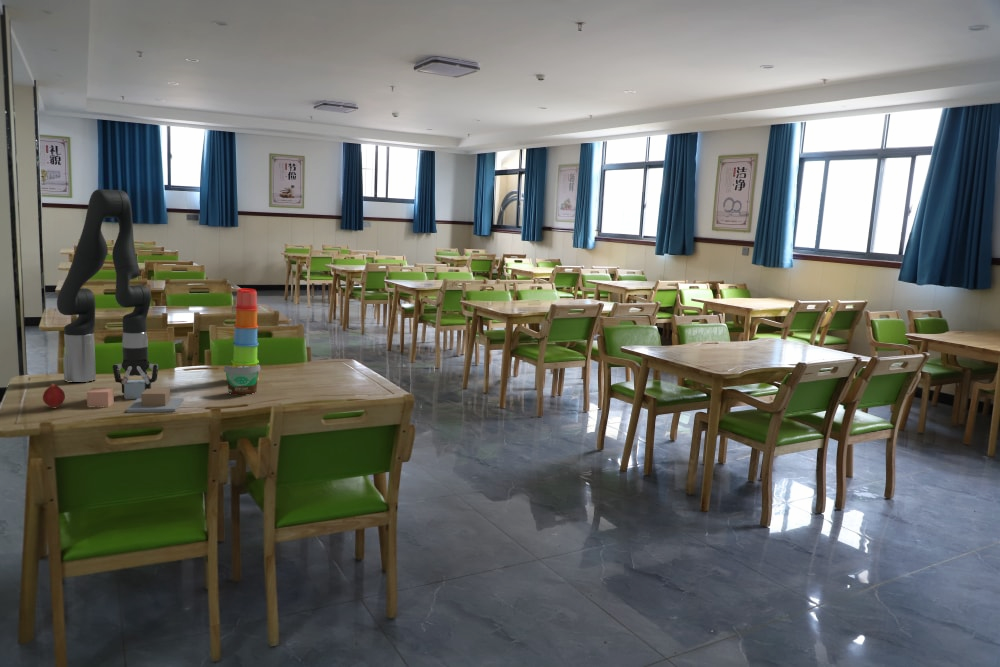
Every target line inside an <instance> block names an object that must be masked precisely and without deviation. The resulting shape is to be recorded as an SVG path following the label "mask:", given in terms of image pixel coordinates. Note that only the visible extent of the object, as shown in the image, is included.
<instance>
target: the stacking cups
mask: <svg viewBox="0 0 1000 667" xmlns="http://www.w3.org/2000/svg"><path fill="white" fill-rule="evenodd" d="M257 299H258V293H257V290H256V289H255V288H246V287H243V288H238V289H237V291H236V306H235V307H234V309H235V324H233V327H234V341H233V342H232V345H233V356H232V359H231V361H230V362H231V363H232V367H238V366H257V365H258V364H260V361H259V359H258V346H259V344H260V343H259V342H258V328H259V325H258V310H259V308H258V307H257V306H258V305H257V304H258V300H257ZM258 381H259V377H258Z"/></svg>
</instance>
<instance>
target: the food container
mask: <svg viewBox="0 0 1000 667" xmlns="http://www.w3.org/2000/svg"><path fill="white" fill-rule="evenodd" d="M260 371H261V365H260V364H257V366H238V367H233V366H228V365H226V364H225V366H224V368H223V372H225V376H226V384H227V392H229V393H231V394H230V395H232V394H237V395H236V396H244V395H243V394H251V395H253V394H252V393H254V394H256V393H257V391H258V390H257V389H258V382H259V380H258V378H259V372H260ZM255 392H256V393H255ZM229 393H228V394H229Z"/></svg>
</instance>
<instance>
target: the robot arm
mask: <svg viewBox="0 0 1000 667" xmlns="http://www.w3.org/2000/svg"><path fill="white" fill-rule="evenodd" d="M130 199H131V198H130V197H129V195H128V194H127V192H125V191H124V190H121V189H120V190H119V189H105V188H104V189H103V188H101V189H96V190H94V191H93V192H92V193H91V194H90V198H89V201H88V205H87V211H86V213H85V214H86V215H85V220H84V224H83V229H82V231H81V234H80V237H79V241H78V242H77V246H76V248H75V251H74V255H73V258H72V262H71V264H70V268H69V270H68V273H67V276H66V278H65V280H63V283H62V286H61V287H60V290H59V292H58V295H57V299H56V307H57V310H58V312H59V313H60V314H61V315H63V316H77V318H76V319H75V320H74V321H72V322H70V323H68V324H66V325H65V326H64V327H63V332H64V334H63V335H64V338H63V339H64V352H65V354H64V355H63V357H62V358H63V359H62V360H63V362H62V363H63V380H67V381H72V382H86V383H88V382H87V381H92V380H95V379H96V375H97V373H96V351H95V350H96V349H95V348H96V347H95V346H96V345H95V327H96V298H95V294H94V293H93V291H92V290H91V289H90V288H84V287H83V286H84V285H85V283H87V282H88V281H89V280H90V279H92V278H93V277H94V276H96V274H98V272H99V271H101V269H102V268H103V267H104V264H105V261H106V259H107V255H108V252H109V251H108V250H109V249H108V243H107V241H106V239H105V238H104V235H103V233H102V226H103V225H102V224H103V222H104V220H105V219H117V222H118V233H117V237H116V240H115V243H114V245H113V248H112V252H111V253H112V262H113V265H114V269H115V276H116V277H115V292H114V295H115V300H116V302H117V305H119V306H120V307H122V308H134V309H133V311H132V312H129V313H127V314H125V315H123V316H122V341H121V342H122V344H121V345H122V362H121V363H114V364H113V365H112V371H113V376H114V382H115V383H120V384H121V393H122V394H124V384H125V383H126V382H127V381H128V380H129V378H130V376H131V377H132V376H141V379H142V380H144V381H145V382H146V384H145V390H146V389H152V383H155V382H156V381H157V380H158V374H159V363H150V361H149V341H148V334H147V318H148V315H149V309H150V306H151V302H152V293H151V290H150V289H149V287H148V286H147V285H144V284H138V285H137V284H136V285H135V284H134V285H130V282H131V280H135V279H136V278H138V277H140V274H141V272H140V267H139V266H140V265H139V263H138V259H137V254H136V249H135V242H134V224H133V212H132V211H133V210H132V205H131V200H130ZM82 287H83V288H82ZM149 368H150V370H151V371H152V372H151V378H150V375H149V372H148V371H147V370H148V369H149ZM121 369H124V371H125V373H124V376H123V377H122V376H121V372H120V370H121ZM96 380H97V379H96ZM96 380H95V381H96ZM92 382H93V381H92Z"/></svg>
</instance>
